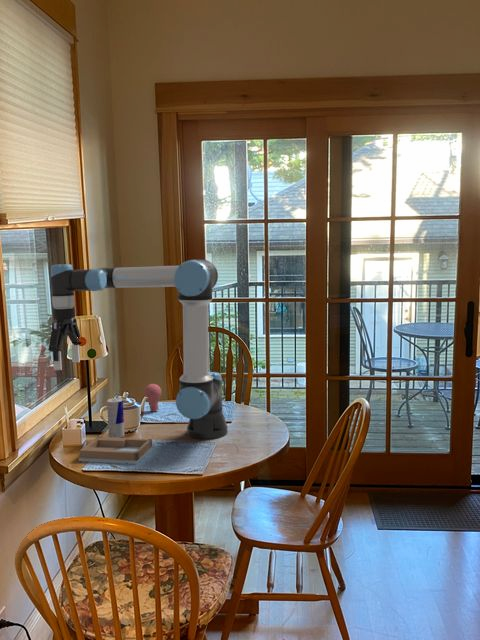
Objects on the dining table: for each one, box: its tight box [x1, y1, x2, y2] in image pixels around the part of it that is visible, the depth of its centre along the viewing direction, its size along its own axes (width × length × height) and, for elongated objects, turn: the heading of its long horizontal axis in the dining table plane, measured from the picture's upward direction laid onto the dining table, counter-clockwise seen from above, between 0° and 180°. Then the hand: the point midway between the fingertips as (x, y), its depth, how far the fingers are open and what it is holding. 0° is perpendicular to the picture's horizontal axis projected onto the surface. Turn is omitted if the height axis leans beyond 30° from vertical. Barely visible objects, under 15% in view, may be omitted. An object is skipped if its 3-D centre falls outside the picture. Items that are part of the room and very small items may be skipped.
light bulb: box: [144, 383, 162, 412], centre depth 244 cm, size 7×7×12 cm
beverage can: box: [106, 397, 126, 438], centre depth 208 cm, size 6×6×15 cm
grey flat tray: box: [78, 436, 154, 465], centre depth 194 cm, size 20×16×3 cm
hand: (67, 365), depth 207 cm, fingers open, 13 cm apart
